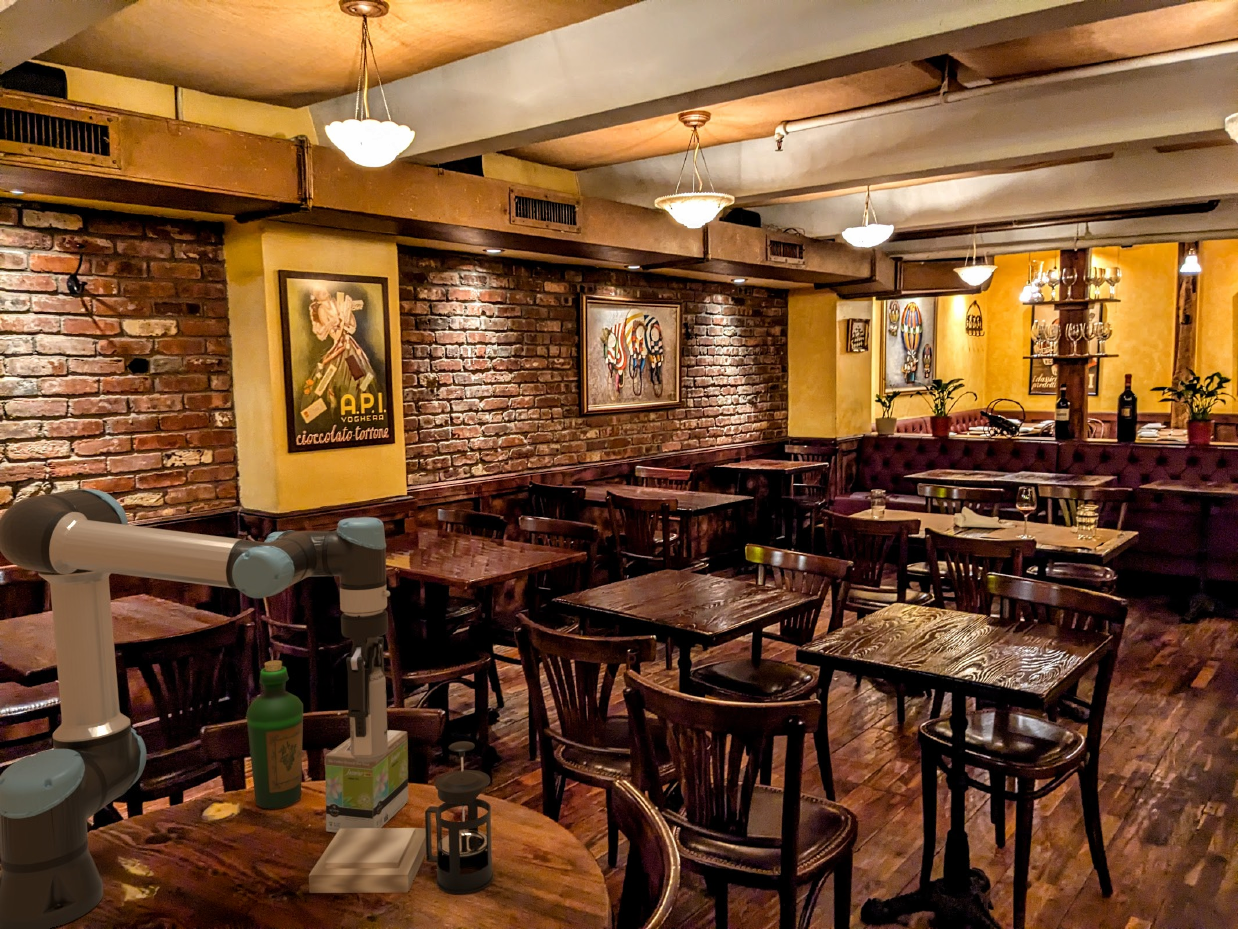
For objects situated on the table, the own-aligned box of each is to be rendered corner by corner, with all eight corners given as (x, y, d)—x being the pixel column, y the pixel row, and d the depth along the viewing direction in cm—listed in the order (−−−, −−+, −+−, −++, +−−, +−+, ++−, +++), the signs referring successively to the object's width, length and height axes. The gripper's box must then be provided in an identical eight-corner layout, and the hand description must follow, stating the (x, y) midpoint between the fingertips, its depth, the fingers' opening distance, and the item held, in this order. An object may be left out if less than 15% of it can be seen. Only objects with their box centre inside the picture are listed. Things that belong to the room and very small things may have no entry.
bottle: (296, 813, 178) (291, 670, 176) (241, 813, 178) (234, 671, 176) (314, 789, 189) (309, 654, 187) (262, 790, 189) (256, 655, 187)
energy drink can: (394, 756, 156) (392, 669, 155) (362, 767, 152) (359, 677, 150) (376, 747, 160) (373, 662, 159) (344, 757, 156) (341, 669, 155)
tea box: (375, 838, 168) (372, 758, 167) (324, 833, 170) (322, 755, 169) (410, 802, 183) (408, 729, 182) (363, 798, 185) (360, 726, 184)
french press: (504, 868, 157) (502, 735, 155) (486, 898, 147) (483, 757, 146) (439, 862, 159) (435, 731, 157) (417, 891, 150) (413, 752, 148)
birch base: (309, 892, 149) (308, 869, 149) (340, 844, 165) (339, 823, 165) (408, 892, 149) (407, 868, 149) (429, 844, 165) (429, 822, 165)
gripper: (370, 625, 144) (375, 769, 146) (401, 598, 163) (405, 726, 165) (322, 625, 145) (328, 769, 146) (358, 598, 164) (363, 726, 165)
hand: (369, 746), depth 156 cm, fingers closed on energy drink can, 6 cm apart
